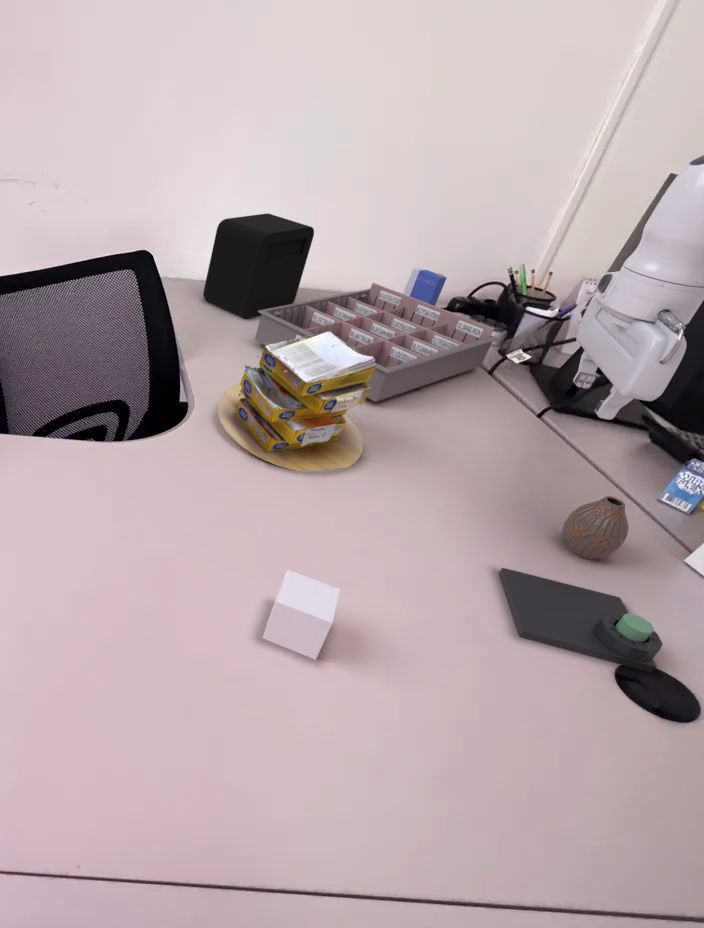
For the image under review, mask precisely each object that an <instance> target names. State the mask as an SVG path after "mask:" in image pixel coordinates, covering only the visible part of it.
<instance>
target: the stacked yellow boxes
mask: <svg viewBox="0 0 704 928" xmlns="http://www.w3.org/2000/svg"><path fill="white" fill-rule="evenodd" d="M309 336H311V335H309ZM305 337H307V336H305ZM297 338H298V339H296V338H295V339H296V340H295V339H293V340H290V341H288V342H287V340H285V341H282V342H279V343H276V344H270V345H267V346H265V345H264V347H263V349H262V353H261V357H260V360H259V363H258V366H259V367H251V366H250V365H246V364H244V368H245V369H244V373H243V375H242V377H241V380H240V382H239V383H237V384H234V385H232V386H231V387H229V388H227V389H226V390H225V391H224V392H223V393H222V394H221V396H220V397H219V399H218V403H217V406H216V407H217V408H216V409H217V410H216V411H217V416H218V419H219V421H220V423H221V425H222V427H223V429H224V431H226V433H227V434H228V435H229V436H230V438H231V439H232V440H233V441H235V442H236V444H238V445H239V446H241V447H242V448H243V449H244V450H246V451H247V452H249V453H250V454H251V455H254V456H256V457H257V458H259V459H261V460H263V461H265V462H268V463H270V464H272V465H275V466H277V467H279V468H280V467H281V468H284V469H286V470H287V469H288V470H291V471H295V472H299V473H303V472H314V471H323V470H335V469H342V468H343V469H344V468H349V467H351V466H353V465H354V464H355V463H356V462H357V461H358V460H359V459H360V457H361V455H362V453H363V449H364V443H363V438H362V435H361V432H360V430H359V428H358V426H357V425H356V424H355V422H354V421H353V420H352V419H351V418H350V416H349V415H348V414H347V412H348V410H349V409H352V408H356V407H357V406H358V405H360V404H364V403H365V401H366V399H367V396H368V394H369V392H370V389H371V388H370V386H368V385H367V384H366V381H369V380H370V378H371V376H372V374H373V372H374V371H375V369H376V364H375V359H374V357H371V356H365V355H362V354H361V353H360V352H358V351H357V350H356V349H354V348H353V347H351V346H350V345H348V344H347V343H345V342H344V341H342V339H340V338H338V337H337V336H335V335H334V334H332V333H331V332H325V333H322V334H319V335H313V336H312V337H309V338H307V339H305V340H300V339H303V338H304V337H302V338H299V337H297ZM266 344H268V343H266ZM258 357H259V355H256V358H258Z"/></svg>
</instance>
